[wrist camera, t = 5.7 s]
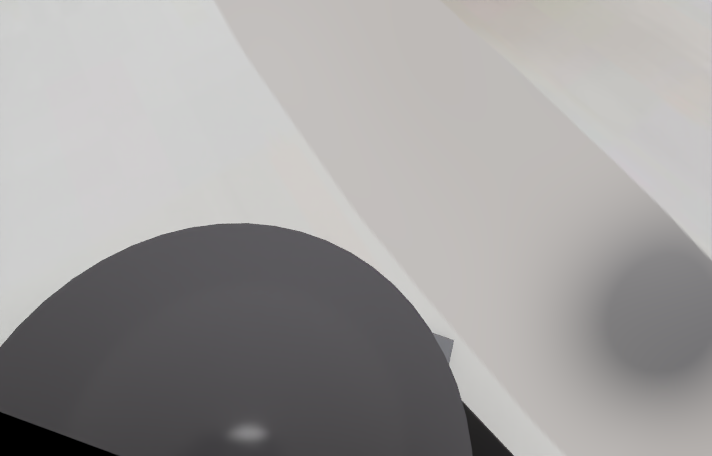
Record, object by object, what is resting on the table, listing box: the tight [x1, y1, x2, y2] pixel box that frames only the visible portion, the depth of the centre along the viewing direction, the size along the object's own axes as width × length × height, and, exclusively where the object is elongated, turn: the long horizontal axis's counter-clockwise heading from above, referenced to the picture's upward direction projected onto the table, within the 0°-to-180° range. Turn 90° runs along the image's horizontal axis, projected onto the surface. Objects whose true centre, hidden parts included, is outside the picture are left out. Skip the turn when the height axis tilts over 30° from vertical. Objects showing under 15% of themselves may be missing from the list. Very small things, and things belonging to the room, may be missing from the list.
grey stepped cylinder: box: [0, 223, 472, 456], centre depth 8 cm, size 4×4×13 cm
